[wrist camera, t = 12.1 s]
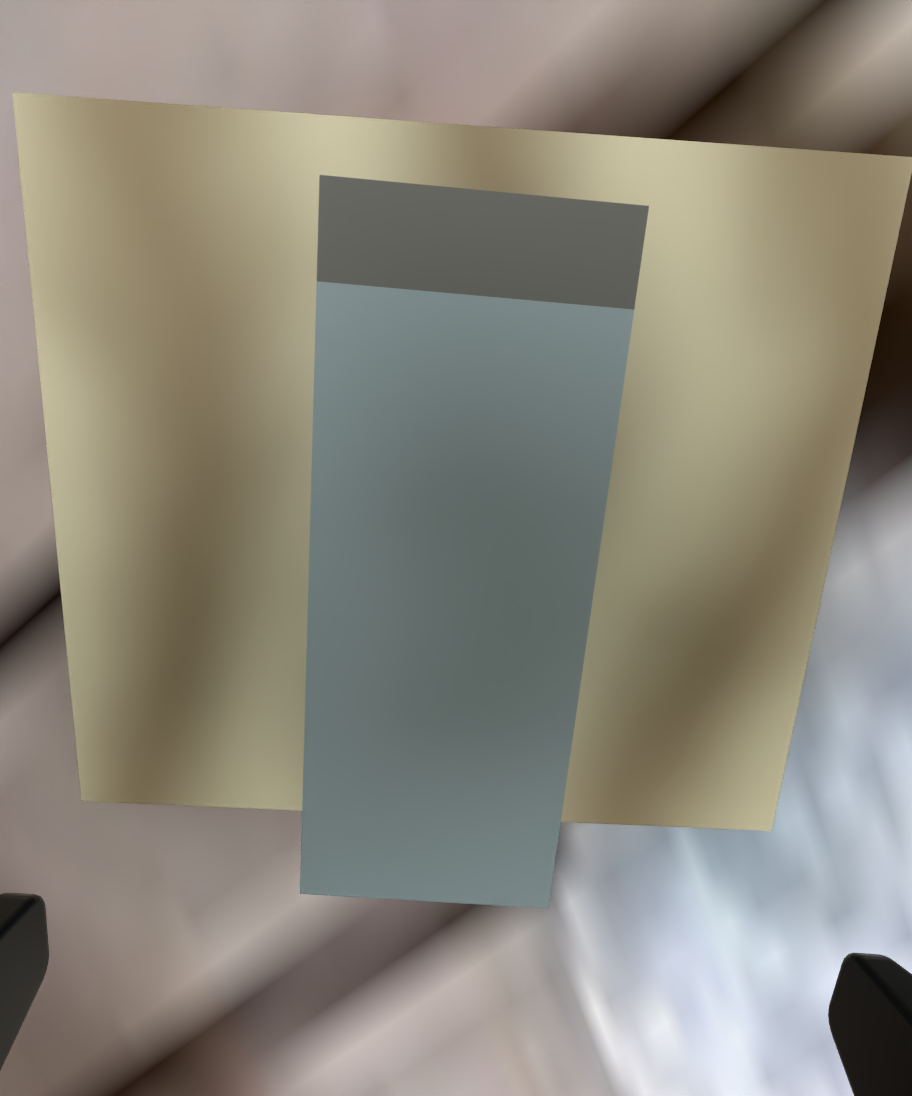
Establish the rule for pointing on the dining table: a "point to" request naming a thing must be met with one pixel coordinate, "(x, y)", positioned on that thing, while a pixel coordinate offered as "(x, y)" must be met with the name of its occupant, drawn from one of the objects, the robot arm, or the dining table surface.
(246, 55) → the dining table surface
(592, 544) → the slate block
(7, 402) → the dining table surface
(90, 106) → the birch board
